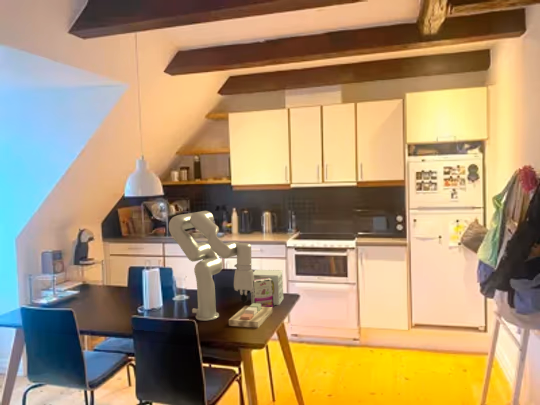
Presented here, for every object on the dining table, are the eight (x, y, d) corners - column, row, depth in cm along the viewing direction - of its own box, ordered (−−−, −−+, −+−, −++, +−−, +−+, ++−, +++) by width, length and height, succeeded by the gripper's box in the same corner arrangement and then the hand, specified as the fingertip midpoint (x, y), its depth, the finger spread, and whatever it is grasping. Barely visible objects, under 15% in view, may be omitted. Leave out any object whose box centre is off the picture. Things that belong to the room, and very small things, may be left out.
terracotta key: (240, 322, 229) (240, 316, 229) (244, 318, 234) (243, 313, 234) (249, 322, 228) (249, 317, 228) (252, 319, 232) (252, 313, 232)
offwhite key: (245, 315, 236) (245, 309, 236) (248, 312, 241) (248, 307, 240) (254, 316, 234) (253, 310, 234) (257, 313, 239) (257, 307, 239)
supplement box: (250, 304, 263) (249, 274, 262) (256, 298, 276) (255, 269, 275) (279, 305, 259) (278, 275, 258) (283, 298, 272) (282, 269, 270)
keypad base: (229, 325, 229) (228, 319, 228) (245, 310, 251) (245, 305, 251) (258, 327, 224) (258, 321, 224) (272, 312, 247) (272, 307, 246)
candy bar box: (271, 305, 260) (270, 277, 259) (273, 307, 255) (272, 279, 254) (252, 307, 257) (251, 279, 256) (254, 309, 253) (253, 281, 251)
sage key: (249, 311, 242) (249, 305, 242) (252, 308, 247) (252, 303, 247) (258, 311, 241) (258, 306, 241) (261, 309, 246) (261, 303, 245)
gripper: (227, 268, 227) (228, 302, 229) (255, 270, 223) (255, 305, 225) (233, 264, 235) (233, 298, 236) (260, 266, 230) (260, 301, 232)
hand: (244, 301), depth 231 cm, fingers closed
